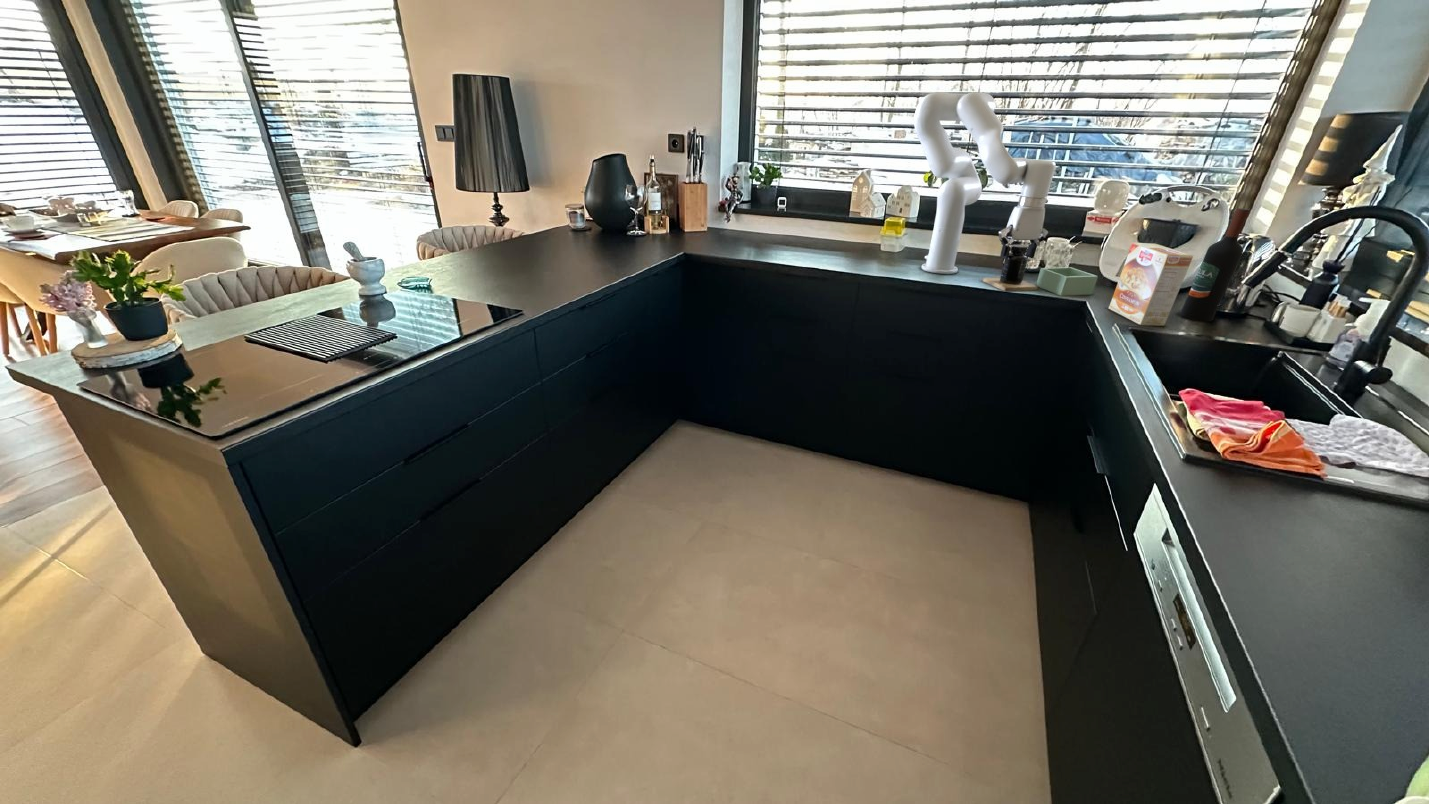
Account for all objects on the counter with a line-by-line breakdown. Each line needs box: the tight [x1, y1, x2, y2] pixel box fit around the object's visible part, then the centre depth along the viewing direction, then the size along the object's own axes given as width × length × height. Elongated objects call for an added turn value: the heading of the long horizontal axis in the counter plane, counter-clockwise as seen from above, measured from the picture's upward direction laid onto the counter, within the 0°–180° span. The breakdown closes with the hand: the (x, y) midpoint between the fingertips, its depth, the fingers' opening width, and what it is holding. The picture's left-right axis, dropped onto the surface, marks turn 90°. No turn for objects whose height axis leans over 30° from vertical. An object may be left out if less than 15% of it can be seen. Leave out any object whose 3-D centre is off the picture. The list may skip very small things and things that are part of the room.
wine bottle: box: [1179, 207, 1251, 323], centre depth 154 cm, size 8×8×30 cm
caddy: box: [1035, 266, 1099, 297], centre depth 182 cm, size 12×12×6 cm
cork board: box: [982, 276, 1039, 292], centre depth 187 cm, size 12×12×1 cm
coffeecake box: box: [1108, 242, 1194, 327], centre depth 155 cm, size 15×7×20 cm, turn 178°
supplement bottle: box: [1000, 244, 1029, 284], centre depth 184 cm, size 7×7×12 cm
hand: (1016, 257), depth 183 cm, fingers open, 9 cm apart
